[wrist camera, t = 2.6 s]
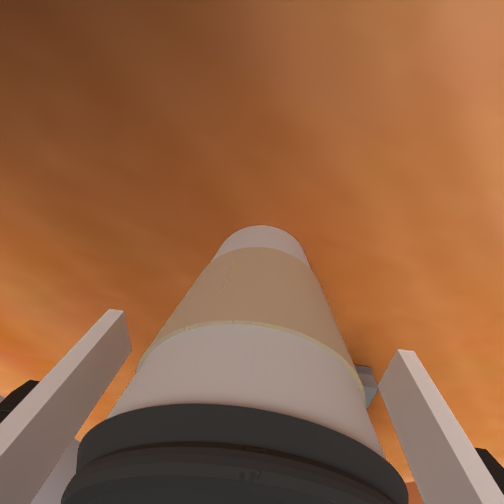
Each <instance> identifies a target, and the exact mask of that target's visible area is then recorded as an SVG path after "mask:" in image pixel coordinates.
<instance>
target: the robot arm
mask: <svg viewBox="0 0 504 504" xmlns="http://www.w3.org/2000/svg"><path fill="white" fill-rule="evenodd" d="M131 351H132V348H131V343H130V338H129V333H128V328H127V323H126V318H125V313H124V311H121V310H114V309H108V310H107V311H106V312H105V314H104V315H103V316H102V317H101V318H100V319H99V320H98V321H97V322H96V323H95V324H94V325H93V326H92V327H91V328H90V329H89V330H88V332H87V333H86V334H85V335H84V336H83V337H82V338H81V339H80V340H79V341H78V342H77V343H76V344H75V345H74V346H73V347H72V348H71V349H70V351H69V352H68V353H67V354H66V355H65V356H64V357H63V358H62V359H61V360H60V361H59V362H58V363H57V364H56V365H55V366H54V367H53V369H52V370H51V371H50V372H49V373H48V374H47V375H46V376H45V377H44V378H43V379H42V380H41V381H34V380H29V381H28V382H26V383H25V384H23V385H22V386H20V387H19V388H17V389H16V390H14V391H13V392H11V393H10V394H9V395H8V396H7V397H6V398H5V399H4V400H3V401H2V402H1V403H0V504H30V503H31V502H32V500H33V499H34V497H35V496H36V494H37V493H38V491H39V489H40V488H41V487H42V485H43V484H44V482H45V481H46V479H47V478H48V476H49V475H50V473H51V472H52V470H53V468H54V467H55V465H56V464H57V462H58V461H59V460H60V458H61V456H62V455H63V453H64V452H65V450H66V449H67V447H68V446H69V444H70V443H71V441H72V440H73V438H74V437H75V435H76V434H77V432H78V431H79V429H80V428H81V426H82V425H83V423H84V422H85V420H86V419H87V417H88V416H89V414H90V413H91V411H92V410H93V408H94V407H95V405H96V404H97V402H98V401H99V399H100V398H101V396H102V395H103V393H104V392H105V390H106V389H107V387H108V386H109V384H110V383H111V381H112V380H113V378H114V377H115V375H116V373H117V372H118V370H119V369H120V367H121V366H122V364H123V363H124V361H125V360H126V358H127V357H128V355H129V354H130V352H131ZM378 388H379V391H380V394H381V396H382V399H383V401H384V404H385V406H386V409H387V411H388V414H389V416H390V419H391V421H392V424H393V427H394V429H395V432H396V434H397V437H398V439H399V442H400V444H401V447H402V449H403V452H404V454H405V457H406V460H407V462H408V465H409V467H410V470H411V472H412V475H413V477H414V480H415V482H416V485H417V487H418V490H419V492H420V495H421V498H422V500H423V503H424V504H504V468H503V467H502V466H501V465H500V464H499V463H498V462H497V461H496V460H495V458H494V457H493V456H492V455H491V454H490V453H489V452H488V451H487V450H486V449H480V448H474V447H473V445H472V444H471V442H470V440H469V439H468V437H467V436H466V434H465V432H464V431H463V429H462V428H461V426H460V424H459V423H458V421H457V420H456V418H455V416H454V415H453V413H452V412H451V410H450V408H449V407H448V405H447V403H446V402H445V400H444V399H443V397H442V395H441V394H440V392H439V391H438V389H437V387H436V386H435V384H434V383H433V381H432V379H431V378H430V376H429V375H428V373H427V371H426V370H425V368H424V366H423V365H422V363H421V362H420V360H419V358H418V357H417V355H416V354H415V352H414V351H409V350H402V349H397V350H396V352H395V354H394V356H393V358H392V360H391V361H390V363H389V365H388V367H387V369H386V371H385V373H384V375H383V377H382V378H381V380H380V382H379V384H378Z"/></svg>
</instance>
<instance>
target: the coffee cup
mask: <svg viewBox="0 0 504 504" xmlns="http://www.w3.org/2000/svg"><path fill="white" fill-rule="evenodd" d="M365 404H366V398H365V391H364V388H363V385H362V383H361V380H360V378H359V375H358V373H357V371H356V368H355V366H354V364H353V361H352V359H351V356H350V354H349V352H348V349H347V347H346V345H345V342H344V340H343V337H342V335H341V333H340V330H339V328H338V326H337V323H336V321H335V318H334V316H333V314H332V311H331V309H330V307H329V304H328V302H327V299H326V297H325V295H324V292H323V290H322V288H321V285H320V283H319V281H318V279H317V277H316V276H315V274H314V273H313V272H312V270H311V268H310V265H309V263H308V260H307V258H306V255H305V253H304V250H303V248H302V247H301V245H300V244H299V242H298V241H297V240H296V239H295V238H294V237H293V236H292V235H290V234H289V233H287V232H286V231H284V230H281V229H279V228H276V227H272V226H266V225H256V226H250V227H246V228H243V229H241V230H238V231H236V232H235V233H233V234H232V235H231V236H229V237H228V238H227V239H226V240H225V241H224V243H223V244H222V246H221V247H220V249H219V250H218V252H217V253H216V255H215V256H214V258H213V259H212V261H211V262H210V263H209V264H208V265H207V266H206V267H205V268H204V270H203V271H202V272H201V274H200V275H199V276H198V278H197V279H196V281H195V282H194V284H193V285H192V286H191V288H190V289H189V291H188V292H187V293H186V295H185V296H184V298H183V299H182V300H181V302H180V303H179V305H178V306H177V307H176V309H175V310H174V312H173V313H172V314H171V316H170V317H169V319H168V320H167V322H166V323H165V324H164V326H163V327H162V329H161V330H160V331H159V333H158V334H157V336H156V337H155V338H154V340H153V341H152V343H151V344H150V345H149V347H148V348H147V350H146V351H145V353H144V354H143V355H142V357H141V359H140V360H139V362H138V365H137V368H136V372H135V376H134V377H133V379H132V380H131V382H130V383H129V385H128V386H127V388H126V389H125V391H124V392H123V394H122V395H121V397H120V398H119V400H118V401H117V403H116V404H115V406H114V407H113V409H112V410H111V412H110V413H109V415H108V416H107V418H106V419H105V420H104V421H103V422H101V423H99V424H98V425H96V426H95V427H93V428H92V429H91V430H90V431H89V432H88V433H87V434H86V435H85V436H84V437H83V439H82V441H81V443H80V445H79V448H78V455H77V469H76V474H75V475H74V477H73V478H72V479H71V481H70V482H69V484H68V486H67V487H66V489H65V491H64V494H63V496H62V499H61V504H408V491H407V488H406V485H405V483H404V481H403V479H402V477H401V476H400V475H399V473H398V472H397V471H396V470H395V468H394V467H393V466H392V465H391V464H390V463H389V462H387V461H386V458H385V456H384V453H383V451H382V448H381V446H380V443H379V441H378V438H377V436H376V433H375V430H374V428H373V425H372V423H371V420H370V418H369V415H368V413H367V410H366V408H365Z"/></svg>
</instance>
